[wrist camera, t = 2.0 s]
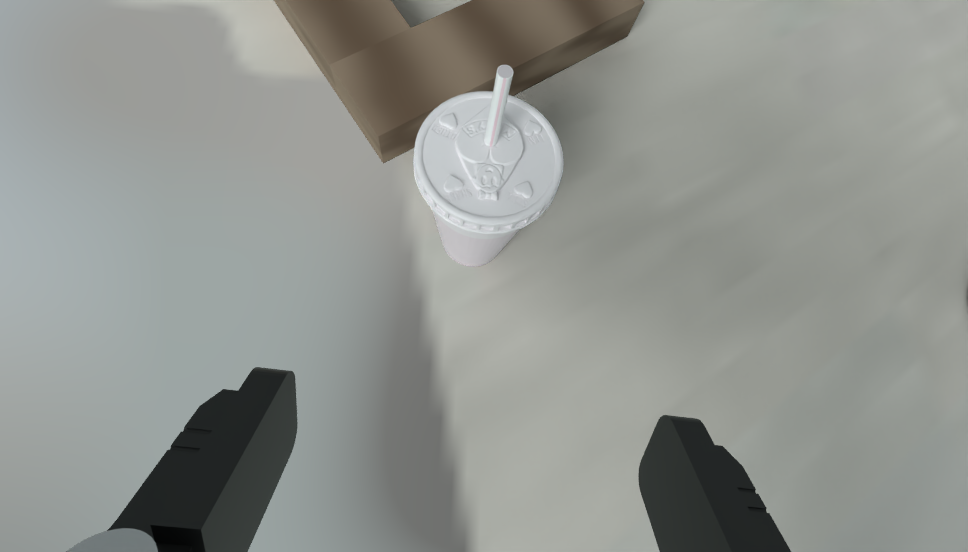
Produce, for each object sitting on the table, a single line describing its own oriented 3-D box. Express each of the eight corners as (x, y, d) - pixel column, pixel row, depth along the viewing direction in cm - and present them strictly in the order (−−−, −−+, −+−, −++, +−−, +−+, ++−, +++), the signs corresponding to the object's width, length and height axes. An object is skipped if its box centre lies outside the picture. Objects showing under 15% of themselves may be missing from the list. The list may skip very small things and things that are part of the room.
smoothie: (525, 193, 31) (596, 18, 17) (524, 291, 29) (603, 180, 15) (422, 185, 30) (414, -2, 17) (414, 285, 28) (398, 165, 15)
